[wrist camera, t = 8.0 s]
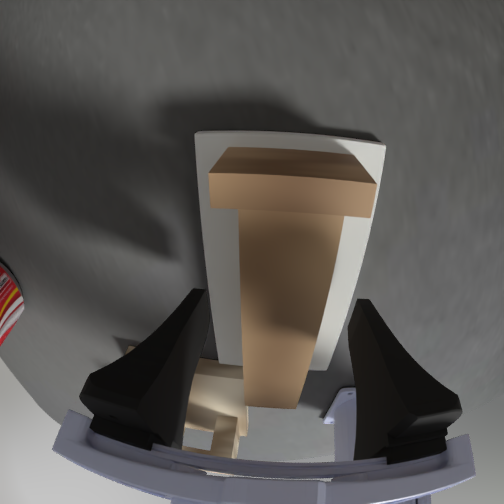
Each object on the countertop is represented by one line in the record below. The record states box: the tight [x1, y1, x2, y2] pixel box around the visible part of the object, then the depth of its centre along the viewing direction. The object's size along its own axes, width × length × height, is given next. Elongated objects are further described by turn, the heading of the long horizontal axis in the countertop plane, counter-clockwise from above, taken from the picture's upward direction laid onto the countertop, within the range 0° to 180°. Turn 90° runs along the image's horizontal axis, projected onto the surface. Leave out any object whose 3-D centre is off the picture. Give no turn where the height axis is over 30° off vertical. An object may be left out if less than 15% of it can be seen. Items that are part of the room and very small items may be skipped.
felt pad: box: [194, 131, 386, 370], centre depth 15 cm, size 8×16×1 cm, turn 0°
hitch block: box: [125, 346, 248, 475], centre depth 22 cm, size 10×14×7 cm
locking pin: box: [208, 147, 377, 409], centre depth 14 cm, size 5×15×3 cm, turn 0°
